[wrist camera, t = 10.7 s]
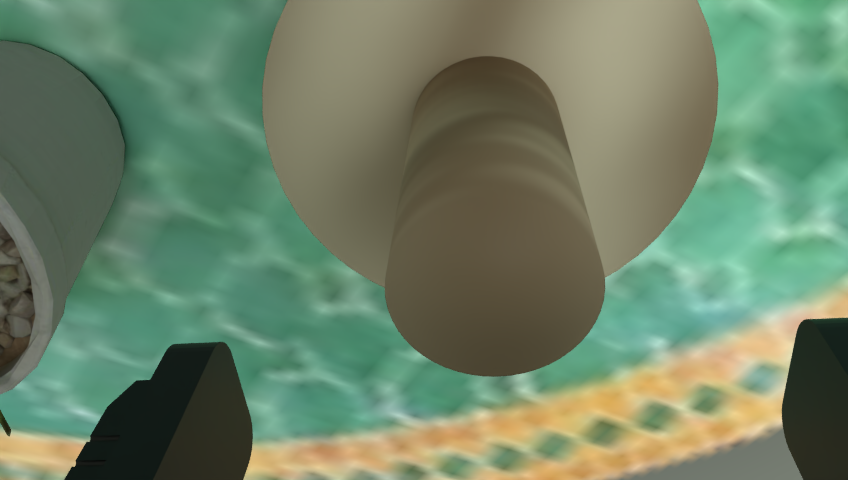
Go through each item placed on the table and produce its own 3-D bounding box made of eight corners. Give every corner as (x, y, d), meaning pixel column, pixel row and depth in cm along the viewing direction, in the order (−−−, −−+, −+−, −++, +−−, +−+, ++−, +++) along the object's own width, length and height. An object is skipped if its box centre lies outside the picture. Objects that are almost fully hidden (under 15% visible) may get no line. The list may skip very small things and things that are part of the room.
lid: (732, -149, 16) (934, -103, 9) (685, 281, 21) (787, 511, 15) (228, -101, 17) (62, -27, 10) (310, 297, 22) (240, 520, 16)
